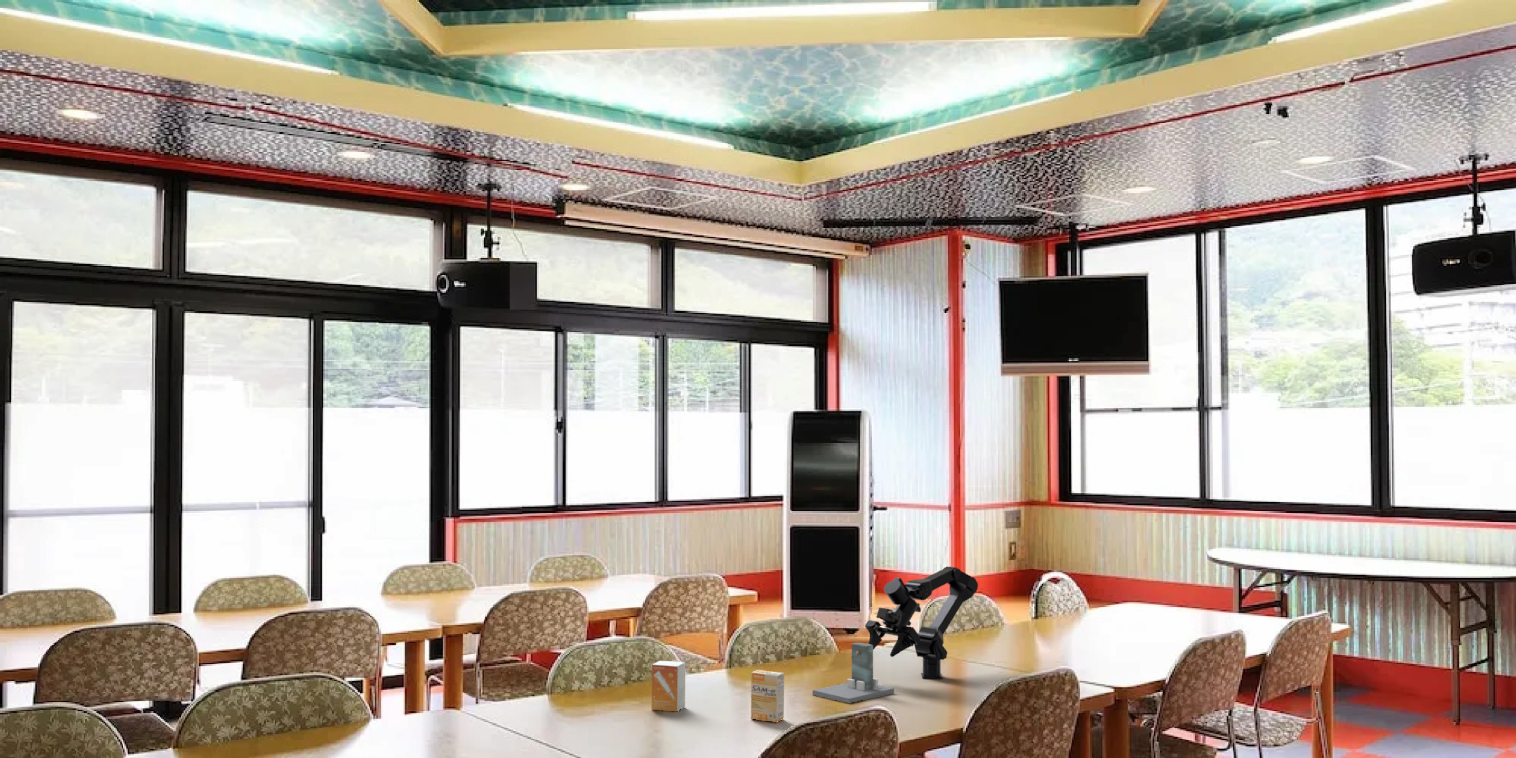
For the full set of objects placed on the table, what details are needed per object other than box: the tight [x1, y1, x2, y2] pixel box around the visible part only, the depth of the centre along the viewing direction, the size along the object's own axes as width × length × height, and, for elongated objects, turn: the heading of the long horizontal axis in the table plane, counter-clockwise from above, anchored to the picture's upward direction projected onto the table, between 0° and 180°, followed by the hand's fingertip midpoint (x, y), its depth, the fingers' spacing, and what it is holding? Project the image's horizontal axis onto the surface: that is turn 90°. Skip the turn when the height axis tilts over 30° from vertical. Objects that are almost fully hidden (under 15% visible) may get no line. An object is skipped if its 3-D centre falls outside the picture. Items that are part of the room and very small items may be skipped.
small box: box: [651, 660, 686, 712], centre depth 334 cm, size 8×6×13 cm
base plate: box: [812, 677, 895, 704], centre depth 352 cm, size 20×15×4 cm
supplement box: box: [750, 669, 785, 723], centre depth 321 cm, size 8×5×13 cm, turn 62°
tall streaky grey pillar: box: [851, 641, 874, 690], centre depth 355 cm, size 4×6×13 cm, turn 42°
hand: (879, 653), depth 361 cm, fingers open, 9 cm apart
